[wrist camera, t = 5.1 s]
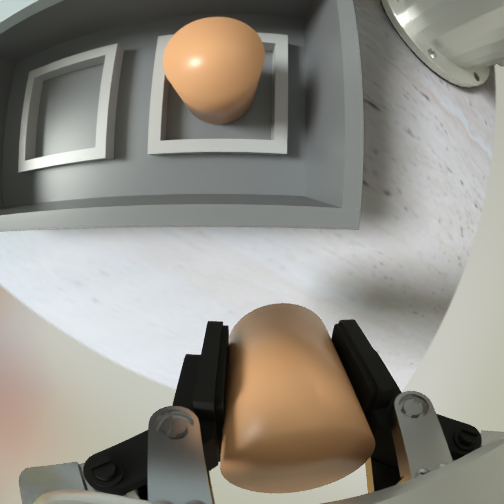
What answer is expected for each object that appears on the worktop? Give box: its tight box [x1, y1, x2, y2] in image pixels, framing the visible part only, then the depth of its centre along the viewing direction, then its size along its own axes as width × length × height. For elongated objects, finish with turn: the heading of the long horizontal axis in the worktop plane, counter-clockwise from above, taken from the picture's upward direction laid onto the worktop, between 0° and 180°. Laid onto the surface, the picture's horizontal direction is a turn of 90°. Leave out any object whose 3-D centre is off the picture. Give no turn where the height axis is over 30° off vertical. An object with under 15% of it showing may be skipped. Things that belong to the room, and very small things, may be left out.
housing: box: [0, 0, 364, 232], centre depth 11 cm, size 24×14×7 cm, turn 88°
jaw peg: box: [220, 303, 375, 493], centre depth 8 cm, size 4×4×6 cm
